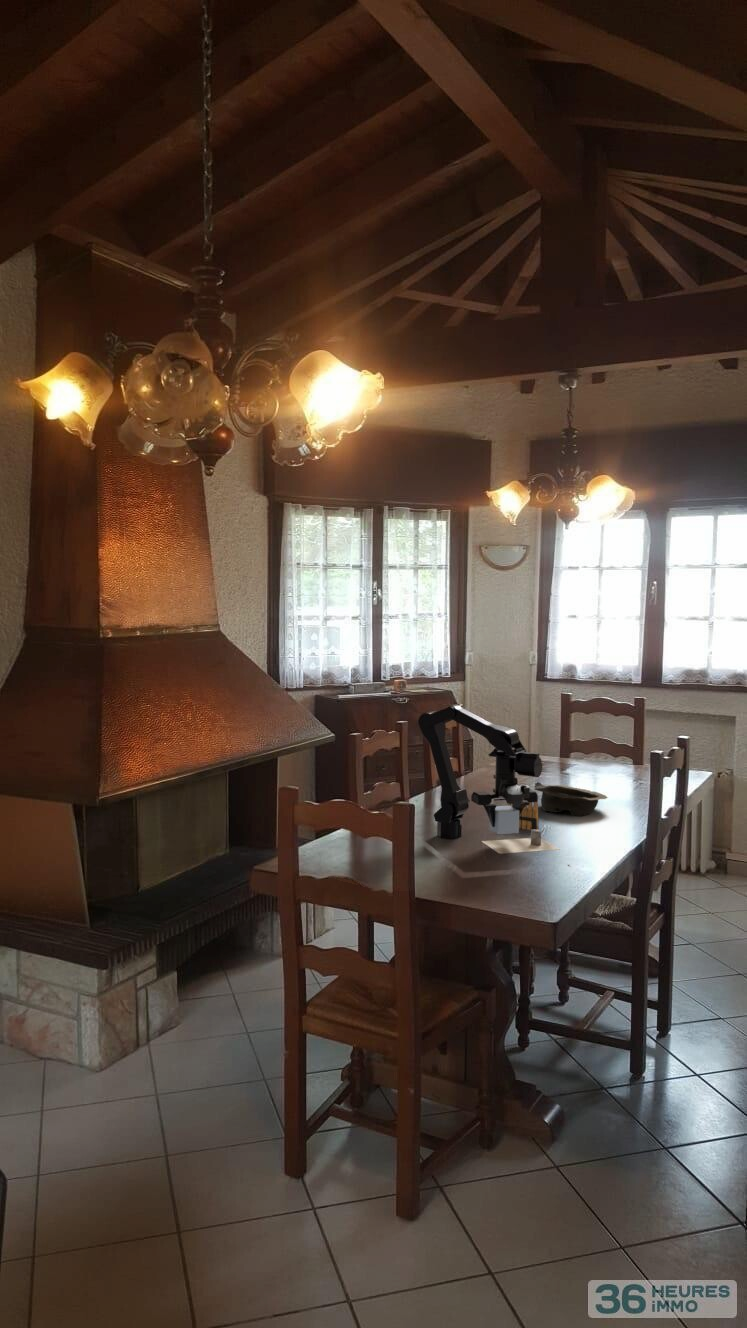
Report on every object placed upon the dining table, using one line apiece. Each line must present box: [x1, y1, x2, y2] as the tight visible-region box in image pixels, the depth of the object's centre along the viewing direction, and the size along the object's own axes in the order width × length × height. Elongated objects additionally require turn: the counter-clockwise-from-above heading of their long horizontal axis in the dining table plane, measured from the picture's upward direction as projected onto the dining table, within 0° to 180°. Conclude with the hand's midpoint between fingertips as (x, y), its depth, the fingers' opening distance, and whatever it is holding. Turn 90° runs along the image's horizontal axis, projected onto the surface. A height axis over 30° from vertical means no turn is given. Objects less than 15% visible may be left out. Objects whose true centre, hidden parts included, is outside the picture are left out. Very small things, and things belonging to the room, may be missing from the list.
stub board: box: [481, 829, 561, 855], centre depth 263 cm, size 19×13×5 cm
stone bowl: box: [533, 781, 609, 817], centre depth 312 cm, size 25×25×9 cm
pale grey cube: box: [488, 805, 520, 835], centre depth 261 cm, size 6×6×6 cm
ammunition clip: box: [505, 801, 540, 831], centre depth 283 cm, size 11×2×12 cm, turn 60°
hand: (503, 826), depth 261 cm, fingers closed on pale grey cube, 6 cm apart
